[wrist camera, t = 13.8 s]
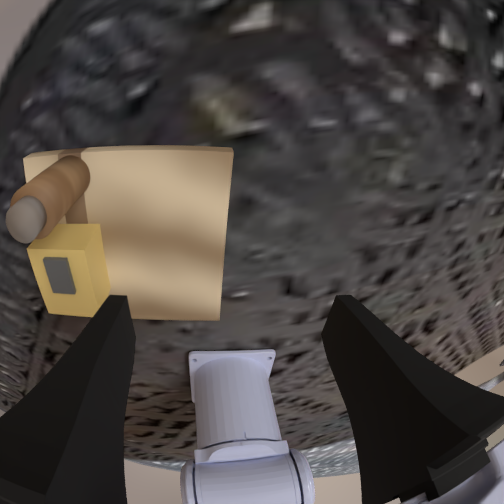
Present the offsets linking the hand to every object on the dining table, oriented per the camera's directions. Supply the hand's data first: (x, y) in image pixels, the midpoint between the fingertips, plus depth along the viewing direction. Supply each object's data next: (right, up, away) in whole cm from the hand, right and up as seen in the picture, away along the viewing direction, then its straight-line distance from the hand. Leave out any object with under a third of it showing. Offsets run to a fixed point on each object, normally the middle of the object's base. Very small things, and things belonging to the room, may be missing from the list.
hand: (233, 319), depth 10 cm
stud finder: (-11, +2, +7) cm, 13 cm away
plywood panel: (-8, +3, +9) cm, 12 cm away
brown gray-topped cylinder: (-10, +7, +4) cm, 13 cm away
